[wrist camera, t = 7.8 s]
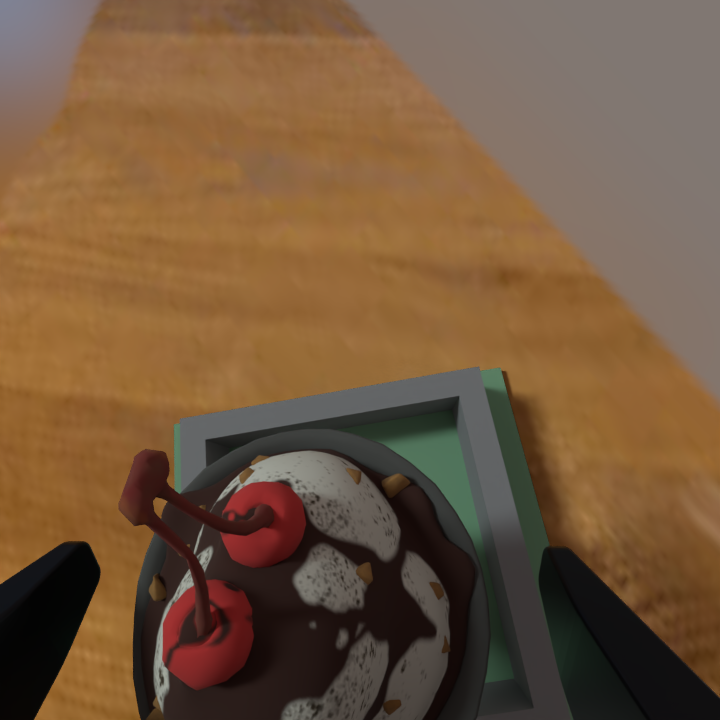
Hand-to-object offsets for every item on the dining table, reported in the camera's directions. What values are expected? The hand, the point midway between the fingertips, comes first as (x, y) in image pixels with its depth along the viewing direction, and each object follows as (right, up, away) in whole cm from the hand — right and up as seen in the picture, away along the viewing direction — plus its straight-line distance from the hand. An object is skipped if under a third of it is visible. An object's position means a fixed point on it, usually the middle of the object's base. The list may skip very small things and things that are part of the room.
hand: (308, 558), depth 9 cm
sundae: (+1, -4, +9) cm, 10 cm away
